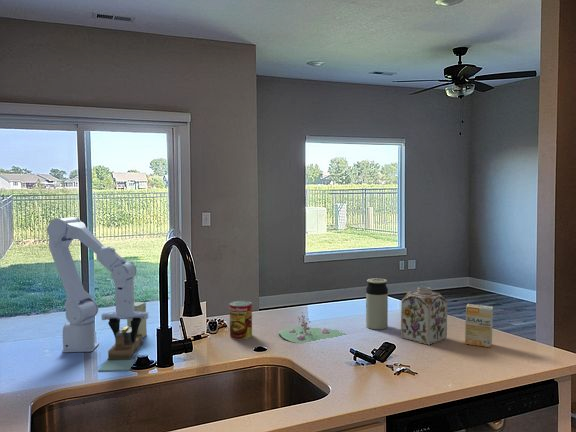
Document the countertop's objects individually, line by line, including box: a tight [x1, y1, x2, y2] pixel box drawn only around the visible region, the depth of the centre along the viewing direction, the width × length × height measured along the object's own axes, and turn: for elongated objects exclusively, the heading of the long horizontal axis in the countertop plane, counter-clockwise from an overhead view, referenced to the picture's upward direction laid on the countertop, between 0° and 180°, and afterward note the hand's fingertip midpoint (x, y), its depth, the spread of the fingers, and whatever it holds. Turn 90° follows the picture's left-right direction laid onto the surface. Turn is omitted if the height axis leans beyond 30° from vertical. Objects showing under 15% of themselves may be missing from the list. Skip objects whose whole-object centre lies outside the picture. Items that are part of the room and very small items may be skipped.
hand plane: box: [106, 326, 144, 361], centre depth 161 cm, size 17×7×7 cm, turn 4°
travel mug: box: [365, 277, 389, 331], centre depth 186 cm, size 8×8×18 cm
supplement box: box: [464, 303, 494, 348], centre depth 165 cm, size 8×5×13 cm, turn 62°
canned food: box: [229, 300, 253, 340], centre depth 176 cm, size 8×8×12 cm
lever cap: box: [116, 325, 133, 345], centre depth 161 cm, size 4×6×5 cm
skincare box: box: [126, 301, 148, 339], centre depth 176 cm, size 6×4×12 cm
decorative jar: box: [400, 286, 448, 346], centre depth 172 cm, size 12×12×18 cm
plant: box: [277, 312, 348, 344], centre depth 178 cm, size 25×21×9 cm
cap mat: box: [97, 359, 137, 373], centre depth 148 cm, size 9×8×1 cm
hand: (125, 340), depth 161 cm, fingers closed on lever cap, 4 cm apart
